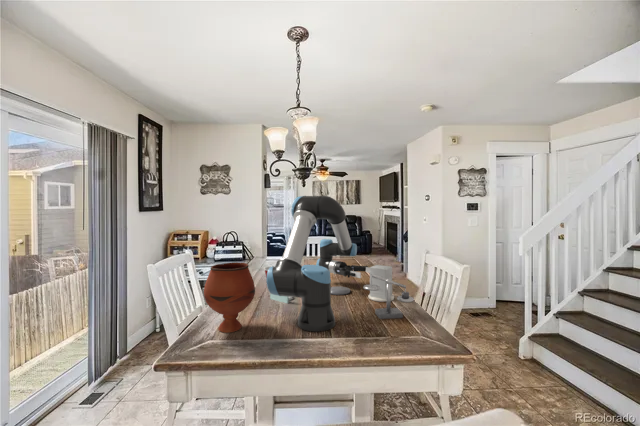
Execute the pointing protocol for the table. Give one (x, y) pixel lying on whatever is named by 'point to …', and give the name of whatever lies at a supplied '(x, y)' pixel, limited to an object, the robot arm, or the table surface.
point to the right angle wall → (281, 298)
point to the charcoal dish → (339, 290)
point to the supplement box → (381, 272)
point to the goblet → (229, 292)
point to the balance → (389, 299)
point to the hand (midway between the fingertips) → (368, 273)
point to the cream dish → (379, 298)
